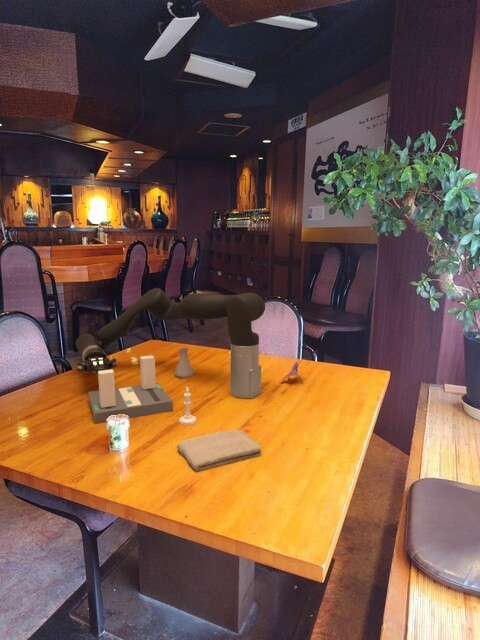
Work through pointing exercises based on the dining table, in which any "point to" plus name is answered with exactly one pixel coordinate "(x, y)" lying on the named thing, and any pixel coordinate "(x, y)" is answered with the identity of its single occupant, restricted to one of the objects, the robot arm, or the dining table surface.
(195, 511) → the dining table surface
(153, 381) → the tab
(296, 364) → the lily
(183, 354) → the flask
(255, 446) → the washcloth
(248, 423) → the dining table surface
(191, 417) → the chess piece
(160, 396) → the switch bank
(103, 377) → the tab
